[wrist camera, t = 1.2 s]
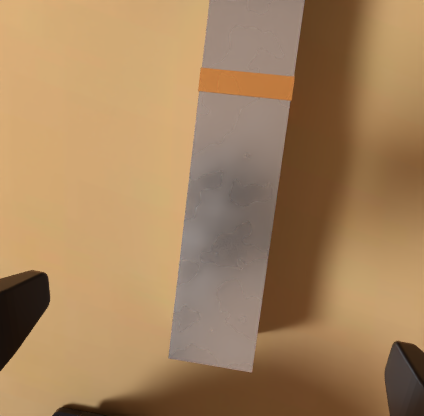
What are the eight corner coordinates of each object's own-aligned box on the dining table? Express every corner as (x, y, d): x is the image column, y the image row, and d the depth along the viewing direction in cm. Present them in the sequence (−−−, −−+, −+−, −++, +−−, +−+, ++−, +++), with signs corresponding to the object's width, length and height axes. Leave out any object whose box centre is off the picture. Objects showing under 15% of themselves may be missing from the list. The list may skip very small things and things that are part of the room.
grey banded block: (251, 334, 21) (252, 373, 17) (182, 323, 21) (167, 358, 17) (297, 10, 19) (310, -35, 15) (220, 3, 19) (213, -42, 15)
